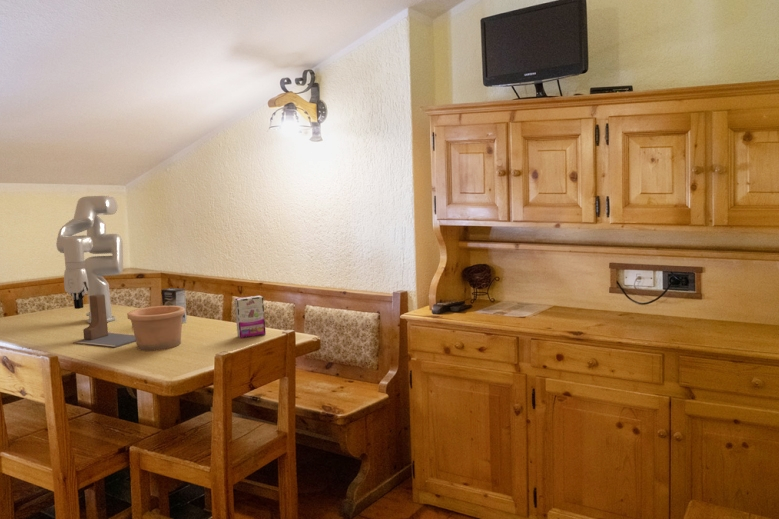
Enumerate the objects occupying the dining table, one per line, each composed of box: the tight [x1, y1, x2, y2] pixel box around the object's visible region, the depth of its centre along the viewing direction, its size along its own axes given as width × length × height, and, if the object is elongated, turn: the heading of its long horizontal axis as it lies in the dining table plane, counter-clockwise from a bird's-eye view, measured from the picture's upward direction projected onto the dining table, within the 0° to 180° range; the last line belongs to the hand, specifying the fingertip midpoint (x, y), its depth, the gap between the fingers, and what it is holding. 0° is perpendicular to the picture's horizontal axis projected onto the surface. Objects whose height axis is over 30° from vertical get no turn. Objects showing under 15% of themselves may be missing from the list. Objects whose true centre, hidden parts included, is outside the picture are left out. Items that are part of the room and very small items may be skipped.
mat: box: [72, 331, 136, 349], centre depth 270 cm, size 24×18×1 cm
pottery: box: [126, 305, 185, 352], centre depth 258 cm, size 22×22×14 cm
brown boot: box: [82, 294, 109, 340], centre depth 273 cm, size 9×4×18 cm, turn 155°
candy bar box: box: [234, 295, 266, 339], centre depth 270 cm, size 11×5×16 cm, turn 118°
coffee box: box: [161, 287, 188, 324], centre depth 301 cm, size 9×6×16 cm
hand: (79, 308), depth 276 cm, fingers closed
